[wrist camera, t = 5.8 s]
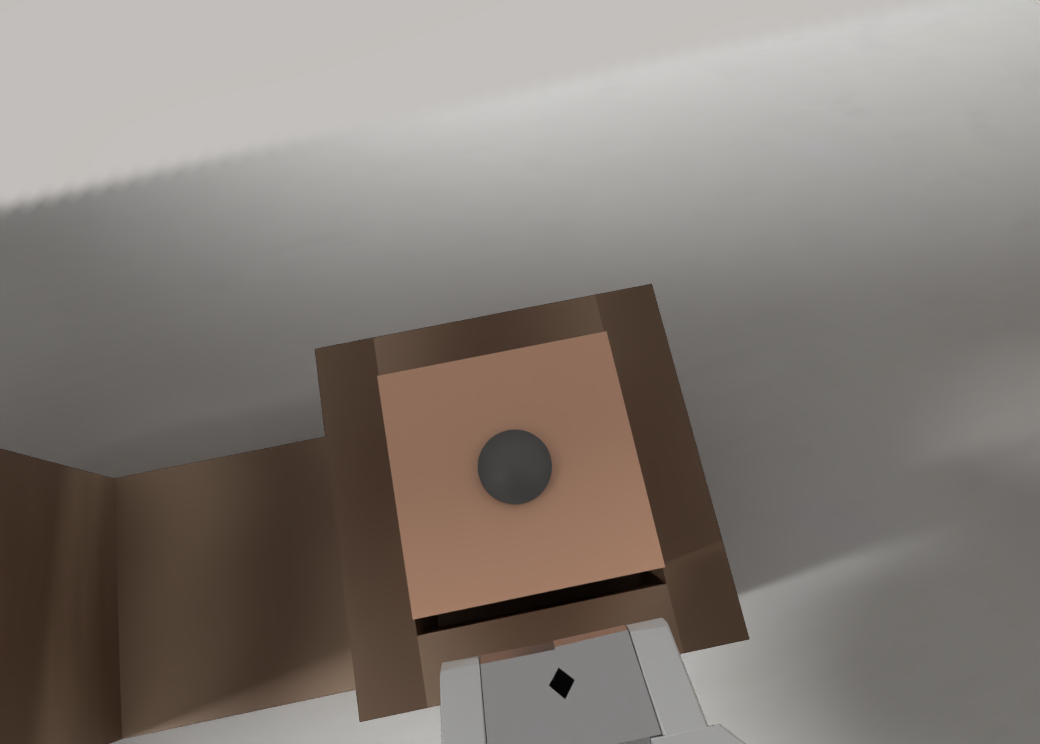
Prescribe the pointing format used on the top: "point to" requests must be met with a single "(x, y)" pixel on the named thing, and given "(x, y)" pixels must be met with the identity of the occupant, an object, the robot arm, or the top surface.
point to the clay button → (515, 475)
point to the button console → (317, 556)
